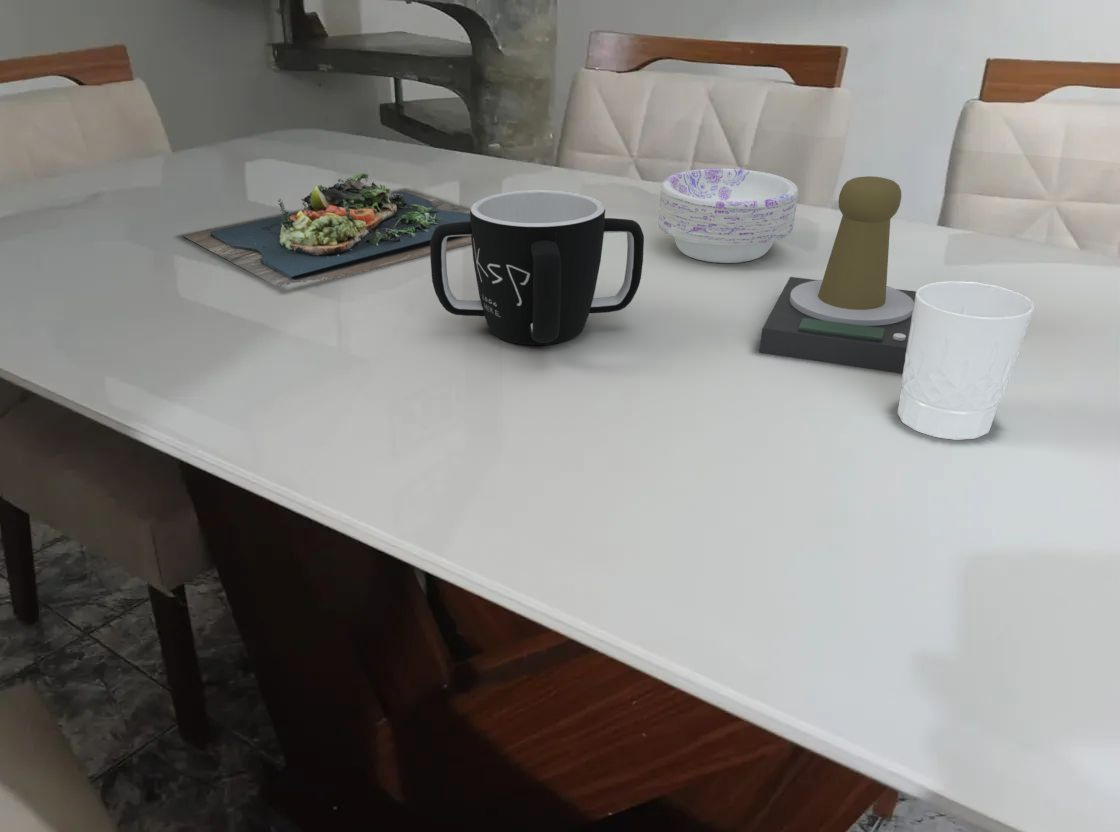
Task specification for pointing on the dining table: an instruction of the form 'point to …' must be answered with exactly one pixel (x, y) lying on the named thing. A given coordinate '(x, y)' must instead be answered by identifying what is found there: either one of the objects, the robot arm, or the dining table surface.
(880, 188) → the olive pawn figure
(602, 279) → the dining table surface
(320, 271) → the plated dish
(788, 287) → the kitchen scale
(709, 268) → the dining table surface
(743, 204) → the paper bowls
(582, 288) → the mug
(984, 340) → the white cup
